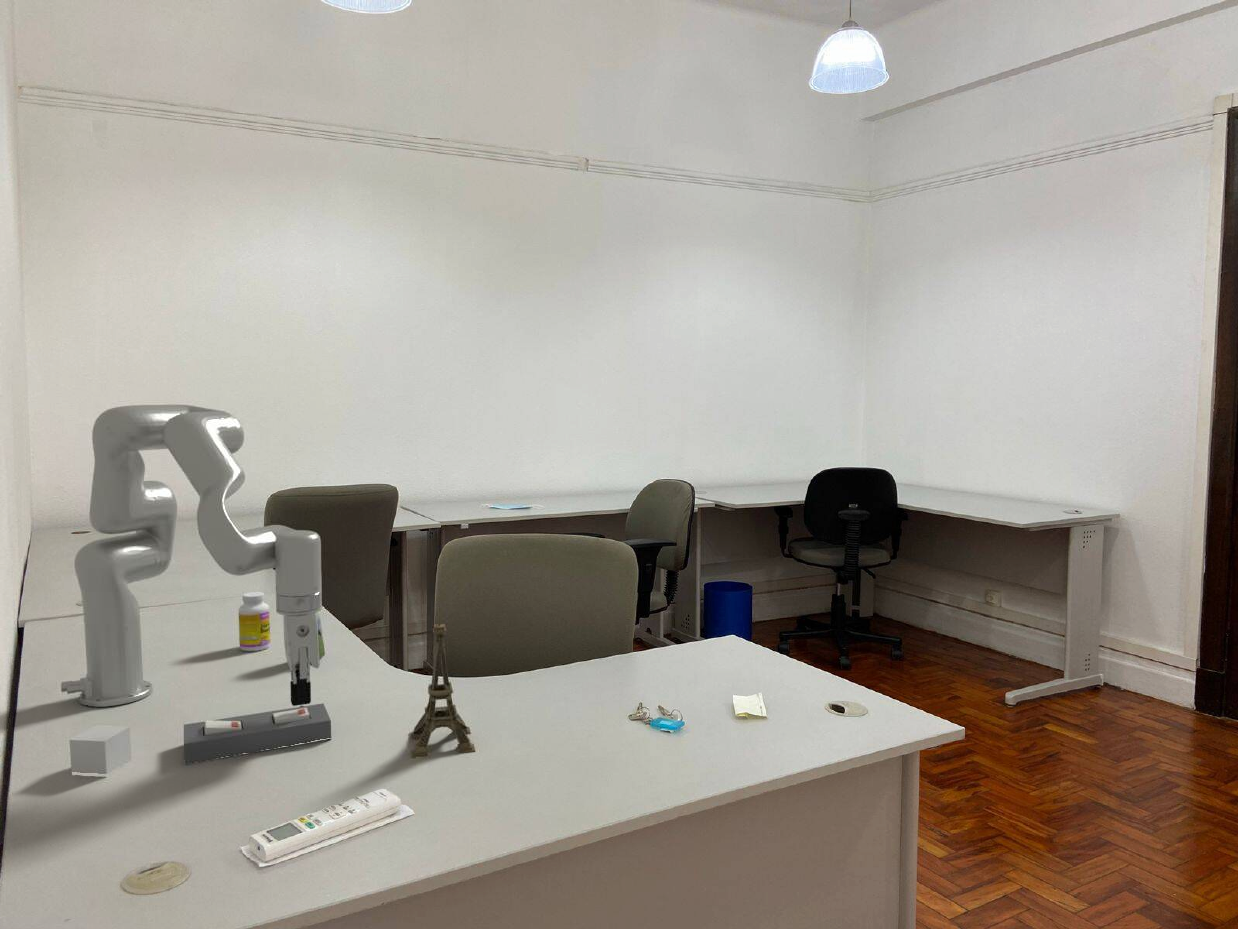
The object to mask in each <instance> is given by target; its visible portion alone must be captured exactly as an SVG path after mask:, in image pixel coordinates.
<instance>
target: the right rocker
mask: <svg viewBox="0 0 1238 929" xmlns="http://www.w3.org/2000/svg"><path fill="white" fill-rule="evenodd" d="M273 717H274V723H275V724H279V723H286V722H292V721H298V720H304V719H310V718H309V712H308V710H307V708H301V709H296V710H290V711H284V712H278V713H273Z"/></svg>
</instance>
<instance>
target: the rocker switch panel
mask: <svg viewBox="0 0 1238 929" xmlns="http://www.w3.org/2000/svg"><path fill="white" fill-rule="evenodd" d="M301 708H307V710H308V712H309V718H310V719H304V720H298V721H292V722H286V723H279V724H275V723H274V717H273V713H278V712H284V711H290V710H296V709H301ZM212 720H213V721H241V727H242V730H235V731H229V732H223V733H217V734H210V735H205V732H204V725H205V721H200V722H194V723H193V722H192V723H186V724H183V754H184V757H183V758H184V765H185V764H187V765H190V764H189V763H192V764H196V763H195V762H198V763H202V762H201V761H204V762H207V761H206V760H210V761H214V760H213V759H216V758H221V757H226V756H233V757H235V756H234V755H239V754H243V753H251V754H254V753H253V752H257V751H261V750H266V749H274V748H278V747H282V746H291V745H295V744H299V743H307V742H311V741H315V740H320V739H327V738H331V739H332V720H331V717H330V715H329V713H328V710H327V708H326V706H325V704H324V703H317V704H308V705H299V706H298V707H296V706H295V707H290V708H283V709H277V710H271V711H265V712H264V711H263V712H257V713H251V714H245V715H238V716H230V717H225V718H219V719H218V718H217V719H212ZM274 750H275V749H274ZM257 753H258V752H257ZM239 756H240V755H239ZM216 760H217V759H216Z"/></svg>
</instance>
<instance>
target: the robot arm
mask: <svg viewBox="0 0 1238 929" xmlns="http://www.w3.org/2000/svg"><path fill="white" fill-rule="evenodd" d="M91 435H92V436H91V440H92V449H93V456H94V457H93V458H94V466H93V473H92V474H93V475H92V483H91V493H90V501H89V503H90V505H89V521H90V522H89V523H90V524H91V527H92V528H93V529H94V530H95V531H96V532H98V533H100V534H104V535H116V536H111V537H105V538H101V539H97V540H93V541H91V542H89V543H87V544H85V545H83V546H82V547H81V548H80V549H79V550H78V552H76V555H75V557H74V570H75V575H76V578H77V581H78V582H77V583H78V585H79V589H80V593H81V599H82V600H81V601H82V611H83V623H84V637H85V638H84V639H85V656H86V658H85V659H86V675H85V677H80V679H79V680H68V681H61V683H60V689H61V693H65V692H66V694H75V693H80V694H79V696H78V700H79V703H80V704H82V705H83V706H86V705H88V706H87V707H92V706H93V707H94V708H96V707H97V708H102V707H103V708H106V707H114V706H119V705H126V704H130V703H132V702H136V701H139V700H142V699H144V698H146V697H148V696H149V695H150V694H151V693H152V692H153V684H152V683H151V682H149V681H147V680H144V670H143V668H144V667H143V651H142V646H143V645H142V630H141V626H142V625H141V614H140V612H141V611H140V606H139V602H138V599H137V598H136V597H135V595H134V594H133V593H132V592H131V590H130V589H129V587H128V584H132V583H134V582H139V581H143V580H148V579H152V578H155V577H157V576H160V575H162V574H163V573H164V572H166V571H167V569H168V568H169V566H170V564H171V560H172V557H173V550H174V542H175V533H176V526H177V519H178V518H177V517H178V505H177V499H176V496H175V493H174V491H173V490H172V488H170V487H169V485H167V484H166V483H164V482H162V481H158V480H145V474H146V473H145V472H146V466H145V461H144V459H143V457H142V454H141V453H140V451H152V450H165V449H166V450H168V451H169V453H170V454H171V455H172V457H173V459H174V460H175V462H176V463H177V465H178V466H179V468H180V469H181V470H182V472H183V473H184V475H185V476H186V479H187V480H188V481H189V483H190V484H191V486H192V487H193V489H194V491H195V492H196V494H197V495H198V496H199V501H198V505H197V511H196V520H197V521H196V523H197V530H198V535H199V537H200V540H201V541H202V543H203V545H204V547H205V549H206V550H207V551H208V553H209V554H210V556H211V557H212V559H213V560H214V561H215V563H216V564H217V565H218V566H219V567H220V569H222V570H223V571H224V572H225V573H227V574H230V575H232V576H237V577H238V576H240V577H241V576H245V575H250V574H254V573H258V572H260V571H264V570H271V569H274V568H275V572H274V573H275V608H276V609H275V612H276V613H277V614H278V615H281V616H283V640H284V641H283V643H284V652H285V654H284V655H285V658H286V662H287V665H288V668H289V670H290V678H291V679H290V680H291V681H290V682H289V683H290V685H289V686H290V687H289V688H290V704H291V705H292V706H293V707H296V706H305V705H311V703H312V690H311V688H312V686H311V685H312V684H311V679H310V678H311V674H310V673H311V666H312V668H313V669H314V668H315V669H316V670H317V669H319V668H320V665H321V663H320V661H321V659H320V660H319V640H318V623H317V615H316V612H318V613H319V612H320V611H321V610H323V604H322V601H323V600H322V599H323V598H322V592H323V590H322V543H321V542H322V541H321V536H320V535H319V534H318V533H317V532H316V531H312V530H306V529H305V530H303V529H299V530H297V529H294V528H291V527H288V526H286V525H281V524H270V525H267V526H260V527H254V528H253V527H252V528H249V529H244V530H240V531H239V530H238V529H237V527H236V526H235V524H233V522H232V521H231V519H230V517H229V515H228V513H227V510H226V507H225V500H227V499H229V498H230V497H231V496H233V495H234V494H235V493H236V492H237V491H239V490H240V488H241V487H242V486H243V484H244V483H245V480H246V475H245V472H244V470H243V468H242V467H241V466H240V464H239V463H238V461H237V460H236V459H235V457H234V455H233V454H234V453H237V452H238V451H239V450H241V448H242V447H243V445H244V440H245V432H244V428H243V426H242V424H241V423H240V420H238V419H237V418H236V417H235V416H234V415H233V414H232V413H230V412H228V411H224V410H219V409H213V408H205V407H201V406H194V405H188V404H141V405H139V404H137V405H136V404H135V405H134V404H132V405H122V406H121V405H120V406H116V407H115V406H114V407H112V408H108V409H107V410H104V411H103V412H101V413H100V415H99V416H98V417H97V418H96V419H95V422H94V424H93V426H92V434H91ZM130 532H135V533H130ZM124 533H129V534H124ZM117 534H123V535H117ZM310 662H311V663H310ZM93 707H92V708H93Z"/></svg>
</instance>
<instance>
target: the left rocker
mask: <svg viewBox="0 0 1238 929" xmlns="http://www.w3.org/2000/svg"><path fill="white" fill-rule="evenodd" d="M213 720H214V719H212V720H211V719H209V720H207V719H204V722H205V725H204V732H205V735H210V734H217V733H223V732H229V731H235V730H242V727H241V721H213Z"/></svg>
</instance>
